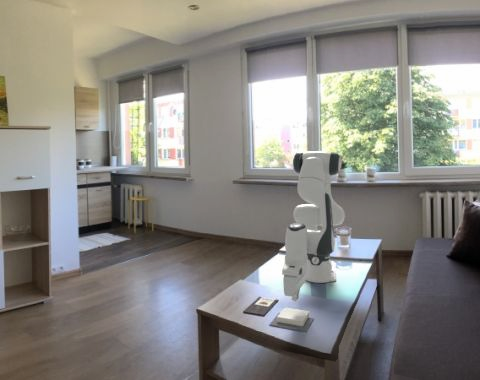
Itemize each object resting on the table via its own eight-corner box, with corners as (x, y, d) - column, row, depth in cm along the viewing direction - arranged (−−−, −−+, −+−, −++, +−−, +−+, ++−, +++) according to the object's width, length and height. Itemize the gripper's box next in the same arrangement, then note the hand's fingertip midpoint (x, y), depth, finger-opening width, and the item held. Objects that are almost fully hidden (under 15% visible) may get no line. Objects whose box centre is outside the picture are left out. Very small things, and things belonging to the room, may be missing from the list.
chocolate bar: (243, 311, 155) (259, 296, 172) (243, 313, 156) (259, 298, 172) (263, 315, 152) (278, 299, 168) (263, 317, 152) (278, 301, 168)
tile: (284, 307, 155) (277, 316, 146) (309, 311, 151) (302, 321, 142) (284, 312, 155) (277, 322, 146) (309, 316, 151) (302, 326, 142)
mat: (279, 313, 155) (279, 312, 155) (313, 319, 149) (313, 318, 149) (269, 325, 144) (269, 324, 144) (306, 332, 138) (306, 331, 138)
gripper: (295, 258, 160) (294, 290, 161) (280, 271, 141) (280, 307, 142) (310, 259, 157) (309, 292, 159) (297, 273, 139) (296, 310, 140)
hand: (295, 299), depth 150 cm, fingers closed
